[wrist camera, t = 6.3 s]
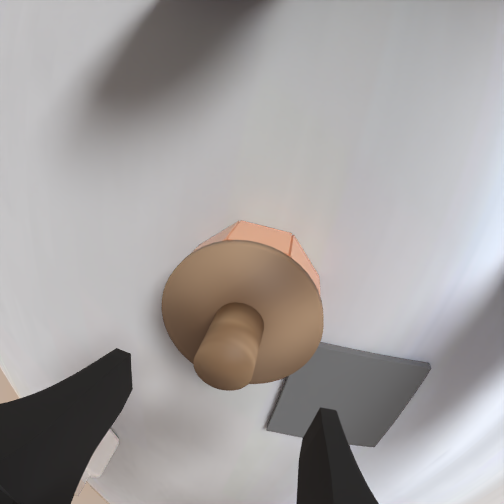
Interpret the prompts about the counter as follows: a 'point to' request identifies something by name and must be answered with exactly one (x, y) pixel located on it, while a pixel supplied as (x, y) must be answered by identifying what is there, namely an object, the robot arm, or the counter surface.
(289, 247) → the bowl
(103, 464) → the salt shaker
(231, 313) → the lid
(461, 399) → the counter surface
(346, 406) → the mat
